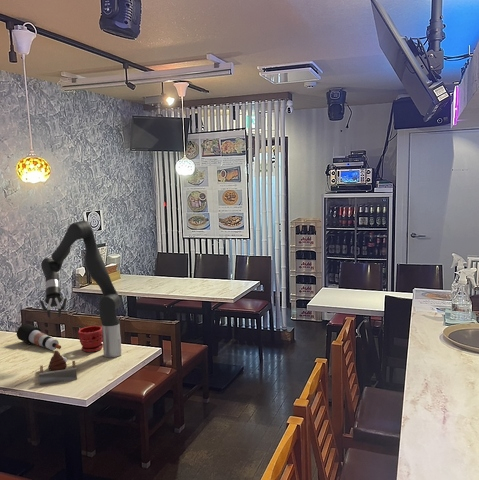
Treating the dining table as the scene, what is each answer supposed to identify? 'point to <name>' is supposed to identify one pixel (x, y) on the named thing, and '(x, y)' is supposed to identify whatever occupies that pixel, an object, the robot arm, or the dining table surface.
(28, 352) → the dining table surface
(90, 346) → the plant pot
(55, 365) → the poop emoji
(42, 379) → the guide channel
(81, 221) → the robot arm
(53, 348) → the cable
